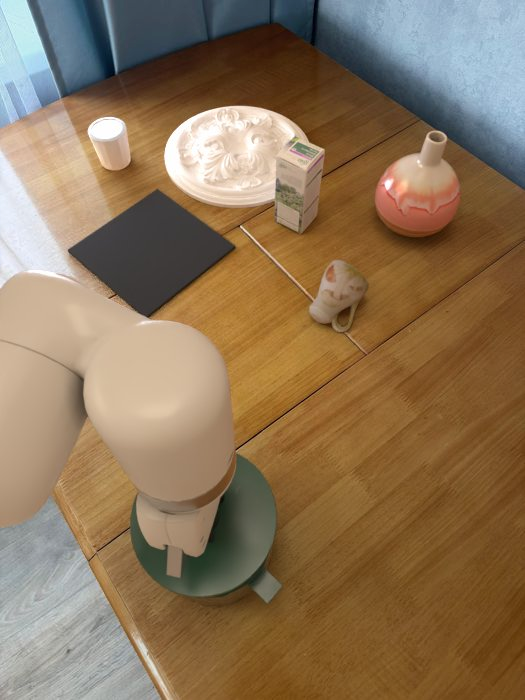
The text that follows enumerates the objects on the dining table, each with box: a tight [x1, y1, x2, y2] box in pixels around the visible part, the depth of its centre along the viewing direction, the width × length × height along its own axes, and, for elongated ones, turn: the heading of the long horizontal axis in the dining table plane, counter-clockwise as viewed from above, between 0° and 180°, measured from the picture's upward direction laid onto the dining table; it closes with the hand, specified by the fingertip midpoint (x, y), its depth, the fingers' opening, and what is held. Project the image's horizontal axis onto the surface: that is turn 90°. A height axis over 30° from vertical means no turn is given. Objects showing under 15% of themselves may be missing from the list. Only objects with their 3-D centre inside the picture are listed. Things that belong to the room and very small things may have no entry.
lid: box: [129, 452, 278, 598], centre depth 51 cm, size 15×15×7 cm
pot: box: [180, 544, 284, 607], centre depth 61 cm, size 14×19×10 cm
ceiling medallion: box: [164, 105, 310, 209], centre depth 100 cm, size 28×28×3 cm
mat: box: [67, 188, 237, 318], centre depth 89 cm, size 20×20×1 cm
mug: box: [308, 259, 370, 333], centre depth 81 cm, size 8×10×10 cm
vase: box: [374, 130, 462, 238], centre depth 85 cm, size 14×14×18 cm
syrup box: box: [274, 136, 326, 235], centre depth 87 cm, size 6×6×14 cm
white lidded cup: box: [87, 116, 132, 171], centre depth 98 cm, size 7×7×7 cm
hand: (203, 515), depth 52 cm, fingers closed on lid, 3 cm apart
